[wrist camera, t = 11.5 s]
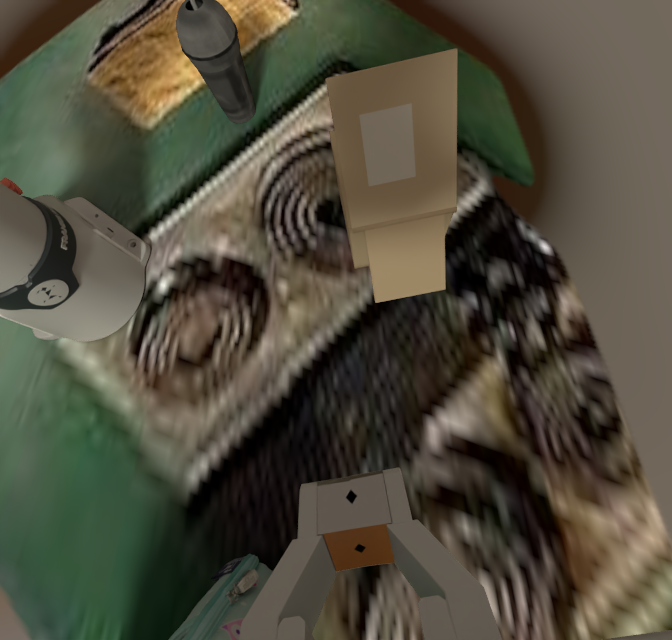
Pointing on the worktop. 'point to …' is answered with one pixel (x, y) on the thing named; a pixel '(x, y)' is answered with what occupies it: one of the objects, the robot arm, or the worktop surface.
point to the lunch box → (226, 601)
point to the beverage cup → (216, 55)
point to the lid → (400, 166)
